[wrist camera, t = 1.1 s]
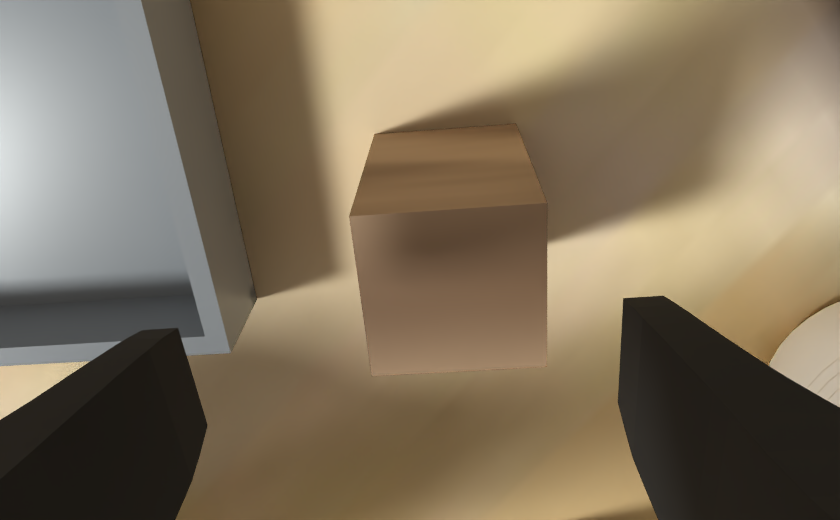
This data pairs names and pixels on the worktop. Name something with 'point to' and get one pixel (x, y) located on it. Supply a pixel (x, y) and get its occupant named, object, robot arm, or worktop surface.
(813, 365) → the cup
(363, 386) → the worktop surface
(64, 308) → the bin
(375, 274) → the walnut block
